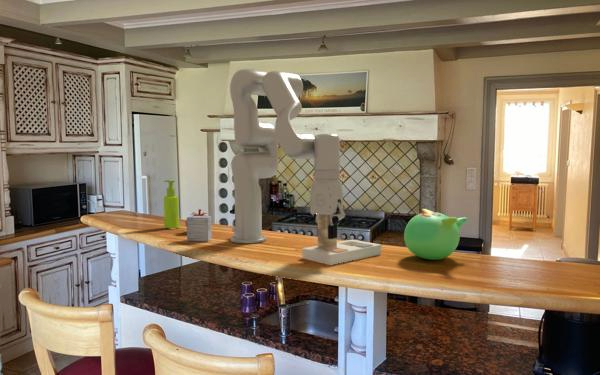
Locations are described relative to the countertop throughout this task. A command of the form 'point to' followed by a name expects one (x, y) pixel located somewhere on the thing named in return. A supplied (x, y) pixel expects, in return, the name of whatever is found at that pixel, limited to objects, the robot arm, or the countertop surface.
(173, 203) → the soap dispenser
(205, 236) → the grey gift box
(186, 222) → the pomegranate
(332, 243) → the maple peg
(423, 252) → the toy bird
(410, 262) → the countertop surface
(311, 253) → the socket block
